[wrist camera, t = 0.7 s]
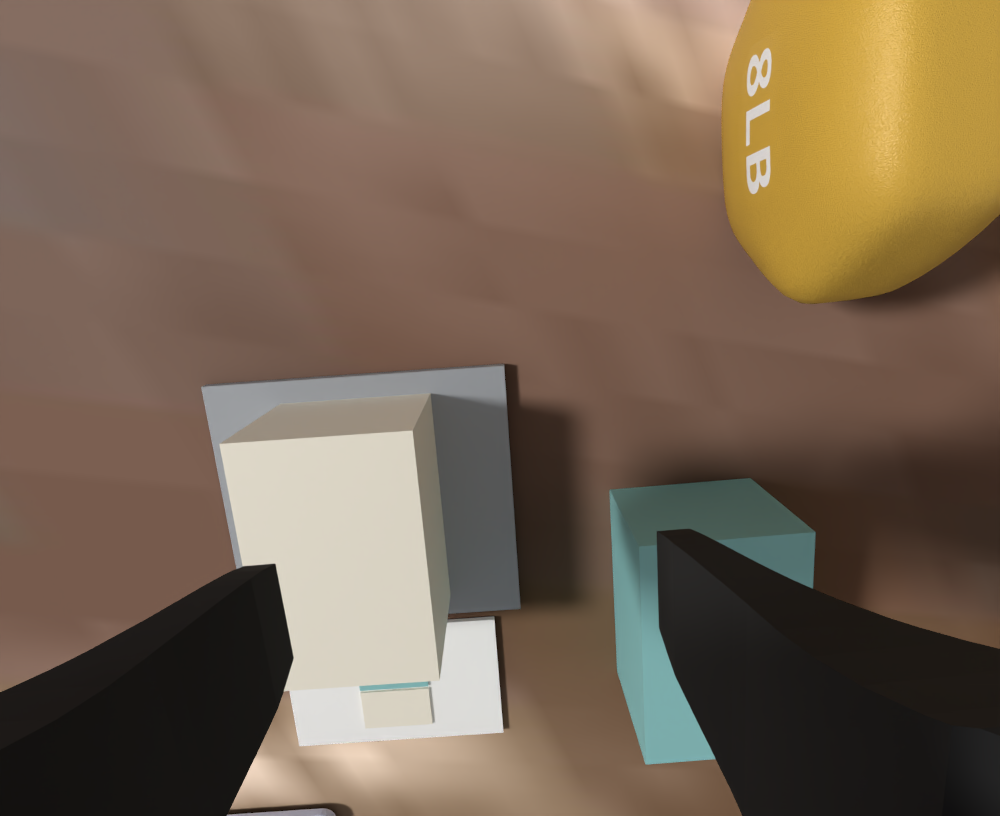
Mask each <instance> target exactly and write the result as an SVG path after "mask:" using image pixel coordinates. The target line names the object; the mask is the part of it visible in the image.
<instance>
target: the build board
mask: <svg viewBox="0 0 1000 816" xmlns="http://www.w3.org/2000/svg"><path fill="white" fill-rule="evenodd" d="M201 388H202V393H203V398H204V403H205V409H206V414H207V419H208V424H209V429H210V434H211V439H212V445H213V450H214V455H215V460H216V465H217V470H218V476H219V481H220V486H221V491H222V496H223V501H224V506H225V512H226V517H227V522H228V527H229V532H230V537H231V543H232V548H233V553H234V558H235V563H236V568H237V569H238V568H240V567H243V566H242V560H241V555H240V550H239V545H238V539H237V534H236V529H235V524H234V519H233V513H232V508H231V503H230V498H229V492H228V487H227V482H226V477H225V471H224V466H223V461H222V456H221V450H220V445H219V444H220V443H222V442H223V441H225V440H226V439H228V438H229V437H231V436H232V435H234V434H235V433H237V432H238V431H240V430H241V429H243V428H244V427H246V426H247V425H249V424H250V423H252V422H254V421H255V420H257V419H258V418H260V417H261V416H263V415H264V414H266V413H267V412H269V411H270V410H272V409H273V408H275V407H276V406H278V405H279V404H284V403H299V402H313V401H327V400H342V399H356V398H370V397H385V396H399V395H413V394H428V393H431V403H432V413H433V423H434V433H435V444H436V454H437V464H438V474H439V484H440V494H441V504H442V514H443V524H444V534H445V544H446V554H447V564H448V575H449V585H450V603H449V611H448V614H451V613H466V612H481V611H495V610H510V609H521V607H520V592H519V577H518V563H517V548H516V533H515V518H514V504H513V489H512V474H511V460H510V445H509V430H508V415H507V401H506V386H505V371H504V364H493V365H479V366H465V367H450V368H436V369H422V370H408V371H393V372H379V373H365V374H350V375H336V376H322V377H308V378H293V379H279V380H265V381H251V382H236V383H222V384H208V385H205V386H202V387H201Z"/></svg>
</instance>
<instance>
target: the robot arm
mask: <svg viewBox="0 0 1000 816" xmlns="http://www.w3.org/2000/svg"><path fill="white" fill-rule="evenodd" d="M657 572H658V612H659V630H660V633H661V636H662V639H663V642H664V645H665V648H666V651H667V654H668V657H669V660H670V663H671V666H672V668H673V671H674V674H675V677H676V679H677V681H678V683H679V685H680V687H681V689H682V691H683V693H684V695H685V698H686V700H687V702H688V704H689V706H690V708H691V710H692V712H693V714H694V716H695V718H696V720H697V722H698V724H699V726H700V728H701V730H702V732H703V734H704V736H705V738H706V740H707V742H708V744H709V746H710V748H711V750H712V752H713V754H714V756H715V758H716V761H717V763H718V765H719V767H720V769H721V771H722V773H723V775H724V777H725V779H726V781H727V783H728V785H729V787H730V789H731V791H732V793H733V795H734V798H735V800H736V802H737V804H738V807H739V809H740V811H741V813H742V816H1000V649H998V648H993V647H989V646H985V645H981V644H977V643H973V642H969V641H965V640H961V639H958V638H954V637H951V636H947V635H944V634H940V633H937V632H933V631H930V630H926V629H922V628H919V627H915V626H912V625H909V624H906V623H903V622H900V621H897V620H893V619H890V618H887V617H885V616H882V615H879V614H876V613H874V612H871V611H868V610H865V609H862V608H860V607H857V606H854V605H851V604H849V603H846V602H843V601H841V600H838V599H836V598H833V597H831V596H828V595H826V594H824V593H821V592H819V591H817V590H815V589H812V588H810V587H808V586H806V585H803V584H801V583H799V582H797V581H794V580H792V579H790V578H788V577H786V576H784V575H782V574H780V573H778V572H775V571H773V570H771V569H769V568H767V567H765V566H763V565H761V564H759V563H758V562H756V561H754V560H752V559H750V558H748V557H746V556H744V555H742V554H740V553H738V552H736V551H734V550H733V549H731V548H729V547H727V546H725V545H723V544H721V543H719V542H717V541H715V540H713V539H711V538H709V537H708V536H706V535H703V534H701V533H699V532H697V531H695V530H692V529H677V530H665V531H657ZM293 659H294V656H293V651H292V646H291V641H290V636H289V631H288V626H287V620H286V615H285V610H284V605H283V600H282V595H281V590H280V584H279V579H278V574H277V569H276V564H264V565H252V566H243V567H240V568H238V569H236V570H233V571H231V572H229V573H227V574H225V575H223V576H221V577H219V578H217V579H216V580H214V581H212V582H210V583H208V584H206V585H205V586H203V587H201V588H199V589H198V590H196V591H194V592H192V593H191V594H189V595H187V596H186V597H184V598H182V599H180V600H179V601H177V602H175V603H173V604H172V605H170V606H168V607H167V608H165V609H163V610H161V611H160V612H158V613H156V614H154V615H153V616H151V617H149V618H148V619H146V620H144V621H142V622H140V623H139V624H137V625H135V626H133V627H131V628H129V629H127V630H126V631H124V632H122V633H120V634H118V635H116V636H115V637H113V638H111V639H109V640H107V641H105V642H104V643H102V644H100V645H98V646H96V647H94V648H93V649H91V650H89V651H87V652H85V653H83V654H81V655H79V656H77V657H75V658H73V659H71V660H69V661H67V662H65V663H63V664H61V665H59V666H57V667H55V668H53V669H51V670H49V671H46V672H44V673H42V674H40V675H38V676H36V677H33V678H31V679H29V680H27V681H25V682H22V683H20V684H18V685H16V686H14V687H12V688H9V689H7V690H5V691H2V692H0V816H336V815H335V813H334V812H333V811H332V810H329V809H326V808H319V809H304V810H289V811H274V812H259V813H244V814H230V815H227V814H228V812H229V810H230V808H231V806H232V803H233V801H234V799H235V797H236V795H237V793H238V791H239V789H240V787H241V785H242V783H243V781H244V779H245V777H246V775H247V772H248V770H249V768H250V766H251V764H252V762H253V760H254V758H255V756H256V754H257V752H258V750H259V748H260V746H261V743H262V741H263V739H264V737H265V735H266V733H267V731H268V729H269V726H270V724H271V722H272V720H273V718H274V716H275V713H276V711H277V709H278V706H279V703H280V700H281V697H282V695H283V692H284V689H285V686H286V682H287V679H288V676H289V672H290V669H291V666H292V663H293Z"/></svg>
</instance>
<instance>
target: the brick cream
mask: <svg viewBox="0 0 1000 816" xmlns="http://www.w3.org/2000/svg"><path fill="white" fill-rule="evenodd" d="M219 445H220V450H221V456H222V461H223V466H224V471H225V477H226V482H227V487H228V492H229V498H230V503H231V508H232V513H233V519H234V524H235V529H236V534H237V539H238V545H239V550H240V555H241V560H242V566H252V565H264V564H276V569H277V574H278V579H279V584H280V590H281V595H282V600H283V605H284V610H285V615H286V620H287V626H288V631H289V636H290V641H291V646H292V651H293V656H294V659H293V663H292V666H291V669H290V672H289V676H288V679H287V682H286V686H285V689H284V691H294V690H308V689H323V688H338V687H353V686H367V685H382V684H397V683H412V682H427V681H440V674H441V666H442V658H443V651H444V643H445V635H446V627H447V619H448V611H449V603H450V585H449V575H448V564H447V554H446V544H445V534H444V524H443V514H442V504H441V494H440V484H439V474H438V464H437V454H436V444H435V433H434V423H433V413H432V403H431V393H428V394H413V395H399V396H385V397H370V398H356V399H342V400H327V401H313V402H299V403H284V404H279V405H278V406H276V407H275V408H273V409H272V410H270V411H269V412H267V413H266V414H264V415H263V416H261V417H260V418H258V419H257V420H255V421H254V422H252V423H250V424H249V425H247V426H246V427H244V428H243V429H241V430H240V431H238V432H237V433H235V434H234V435H232V436H231V437H229V438H228V439H226V440H225V441H223V442H222V443H220V444H219Z"/></svg>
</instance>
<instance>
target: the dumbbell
mask: <svg viewBox="0 0 1000 816" xmlns="http://www.w3.org/2000/svg"><path fill="white" fill-rule="evenodd" d="M722 163H723V183H724V195H725V205H726V210H727V215H728V218H729V221H730V224H731V227H732V230H733V232H734V234H735V236H736V238H737V240H738V241H739V243H740V244H741V246H742V247H743V249H744V250H745V251H746V253H747V254H748V255H749V256H750V258H751V259H752V260H753V262H754V263H755V264H756V266H757V267H758V268H759V270H760V271H761V272H762V273H763V275H764V276H765V277H766V278H767V279H768V280H769V281H770V282H771V283H772V284H773V285H774V286H775V287H776V288H777V289H778V290H779V291H780V292H781V293H782V294H783V295H785V296H787V297H789V298H791V299H793V300H796V301H798V302H800V303H807V304H817V303H827V302H837V301H846V300H853V299H859V298H865V297H871V296H876V295H881V294H884V293H887V292H891V291H894V290H896V289H898V288H900V287H902V286H904V285H906V284H908V283H910V282H911V281H913V280H915V279H917V278H919V277H921V276H922V275H924V274H925V273H927V272H929V271H930V270H932V269H933V268H935V267H936V266H938V265H939V264H941V263H942V262H944V261H945V260H946V259H948V258H949V257H950V256H952V255H953V254H955V253H956V252H957V251H959V250H960V249H961V248H962V247H964V246H965V245H966V244H967V243H968V242H970V241H971V240H972V239H973V238H974V237H976V236H977V235H978V234H979V233H980V232H982V231H983V230H984V229H985V228H986V227H987V226H988V225H989V224H990V223H991V222H992V221H993V220H994V219H995V218H996V217H998V216H999V215H1000V0H751V1H750V4H749V7H748V9H747V12H746V15H745V17H744V20H743V23H742V25H741V28H740V30H739V33H738V35H737V38H736V41H735V43H734V46H733V49H732V52H731V54H730V58H729V61H728V65H727V69H726V73H725V79H724V84H723V96H722Z"/></svg>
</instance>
